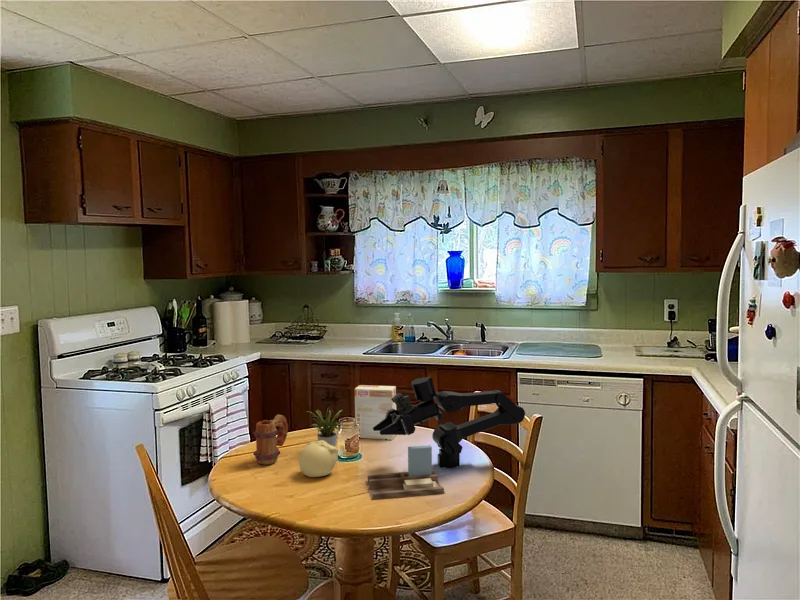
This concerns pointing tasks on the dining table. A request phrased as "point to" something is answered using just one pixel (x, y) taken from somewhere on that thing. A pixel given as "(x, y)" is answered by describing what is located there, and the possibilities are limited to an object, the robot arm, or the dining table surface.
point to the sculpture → (318, 458)
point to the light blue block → (419, 460)
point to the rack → (398, 485)
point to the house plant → (327, 432)
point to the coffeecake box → (373, 408)
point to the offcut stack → (419, 484)
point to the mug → (270, 439)
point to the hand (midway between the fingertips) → (376, 431)
